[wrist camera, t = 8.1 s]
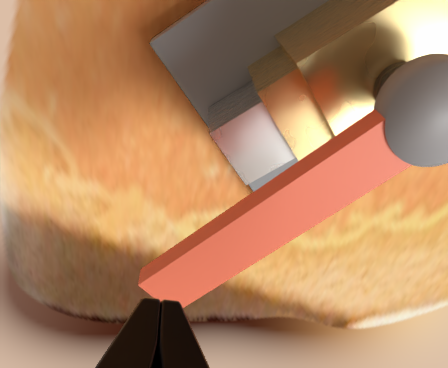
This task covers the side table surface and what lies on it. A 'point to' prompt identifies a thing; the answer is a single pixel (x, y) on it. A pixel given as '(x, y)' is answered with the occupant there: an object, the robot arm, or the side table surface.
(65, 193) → the side table surface
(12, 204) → the side table surface
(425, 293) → the side table surface
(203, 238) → the lever
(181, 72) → the board
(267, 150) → the valve
